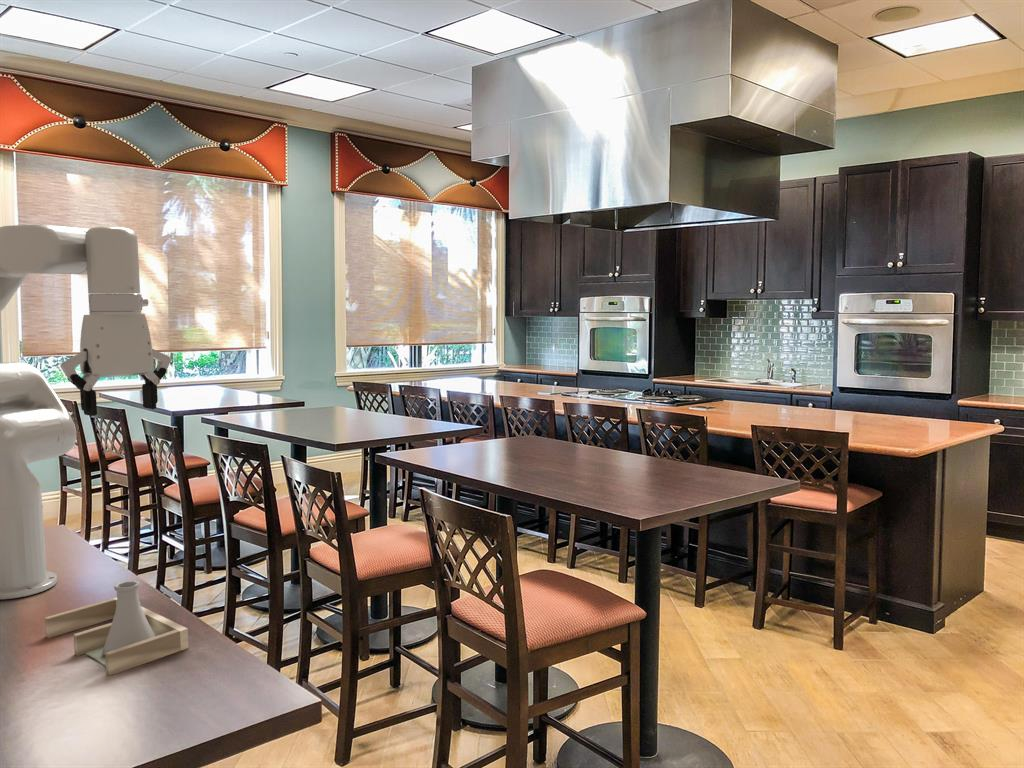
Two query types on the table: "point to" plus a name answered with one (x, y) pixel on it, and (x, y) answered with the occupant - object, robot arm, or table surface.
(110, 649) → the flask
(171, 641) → the comb rack
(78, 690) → the table surface
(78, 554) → the table surface
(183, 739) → the table surface
